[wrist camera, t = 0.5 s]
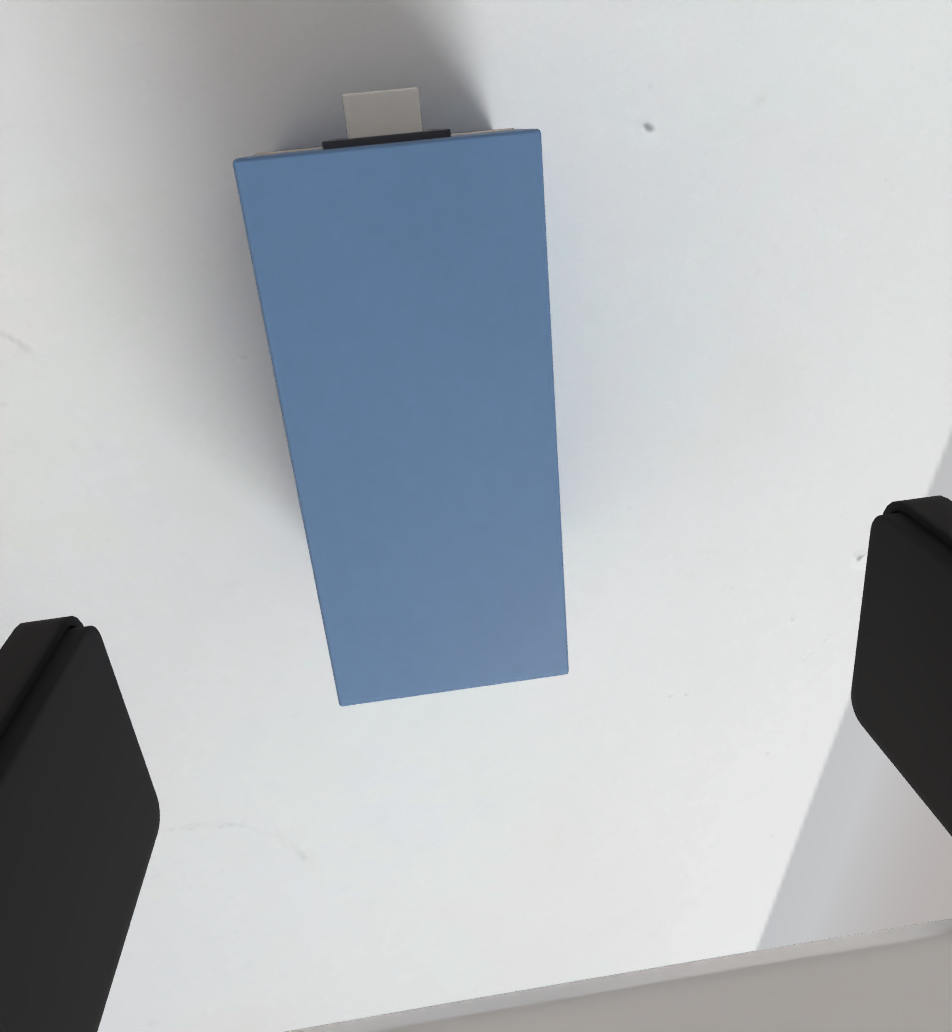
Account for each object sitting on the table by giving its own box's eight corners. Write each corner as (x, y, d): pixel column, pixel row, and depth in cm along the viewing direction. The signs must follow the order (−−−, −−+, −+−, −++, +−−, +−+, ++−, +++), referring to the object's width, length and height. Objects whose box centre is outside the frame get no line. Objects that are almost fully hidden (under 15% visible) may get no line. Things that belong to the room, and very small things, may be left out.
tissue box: (262, 109, 22) (218, 101, 16) (491, 88, 22) (539, 70, 16) (346, 577, 28) (338, 709, 21) (525, 553, 28) (570, 675, 22)
